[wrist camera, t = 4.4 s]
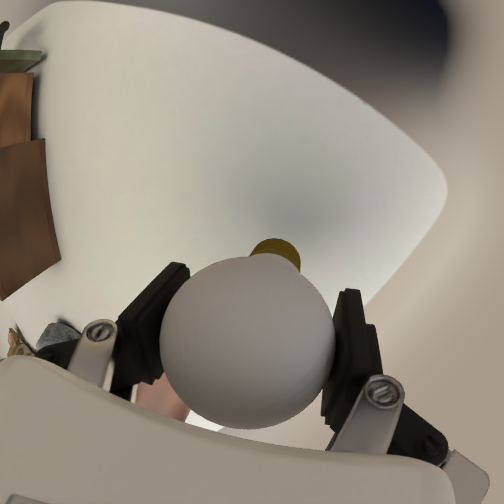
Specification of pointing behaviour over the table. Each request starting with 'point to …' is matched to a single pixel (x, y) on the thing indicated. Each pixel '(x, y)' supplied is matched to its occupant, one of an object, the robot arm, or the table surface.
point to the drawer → (15, 93)
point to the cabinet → (24, 216)
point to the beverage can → (162, 399)
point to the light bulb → (248, 339)
